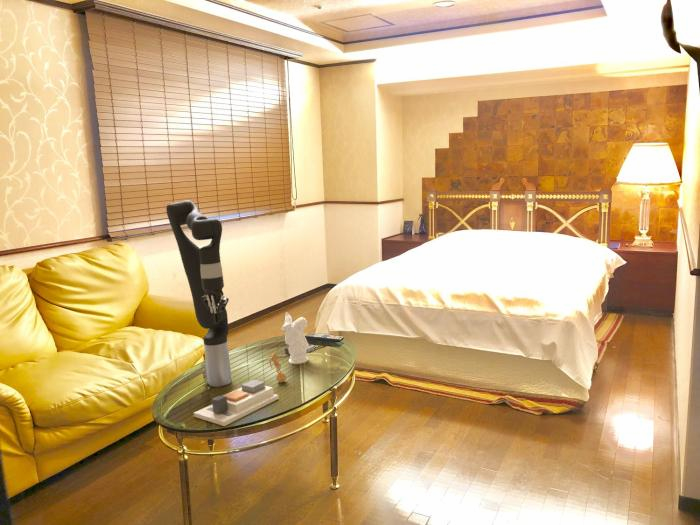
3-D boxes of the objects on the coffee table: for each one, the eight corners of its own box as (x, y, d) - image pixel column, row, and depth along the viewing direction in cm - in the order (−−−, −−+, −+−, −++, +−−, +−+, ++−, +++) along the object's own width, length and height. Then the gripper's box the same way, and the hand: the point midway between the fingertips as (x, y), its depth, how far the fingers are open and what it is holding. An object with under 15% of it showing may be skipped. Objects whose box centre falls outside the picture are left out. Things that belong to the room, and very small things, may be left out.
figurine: (280, 386, 225) (277, 357, 223) (267, 385, 228) (264, 356, 226) (291, 379, 232) (288, 350, 230) (279, 377, 235) (276, 349, 233)
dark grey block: (213, 412, 200) (211, 398, 199) (222, 408, 203) (220, 394, 202) (219, 414, 198) (217, 400, 197) (227, 410, 201) (226, 396, 200)
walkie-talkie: (294, 358, 260) (326, 346, 274) (293, 348, 259) (325, 337, 273) (282, 354, 266) (314, 343, 280) (281, 345, 265) (313, 335, 279)
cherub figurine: (314, 361, 253) (310, 312, 250) (292, 369, 245) (288, 319, 241) (296, 355, 262) (292, 309, 258) (274, 363, 253) (270, 315, 249)
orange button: (225, 404, 206) (224, 395, 206) (237, 398, 211) (236, 390, 211) (236, 407, 203) (235, 398, 202) (248, 401, 207) (247, 393, 207)
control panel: (194, 416, 202) (192, 405, 201) (248, 391, 222) (247, 381, 222) (224, 426, 192) (222, 414, 192) (278, 398, 212) (277, 388, 212)
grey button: (242, 392, 213) (241, 384, 212) (254, 387, 217) (253, 379, 217) (253, 395, 209) (252, 387, 209) (265, 390, 214) (264, 382, 213)
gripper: (232, 274, 202) (237, 322, 205) (208, 272, 210) (213, 318, 213) (215, 278, 196) (221, 327, 199) (191, 276, 204) (197, 323, 207)
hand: (217, 322), depth 206 cm, fingers closed
